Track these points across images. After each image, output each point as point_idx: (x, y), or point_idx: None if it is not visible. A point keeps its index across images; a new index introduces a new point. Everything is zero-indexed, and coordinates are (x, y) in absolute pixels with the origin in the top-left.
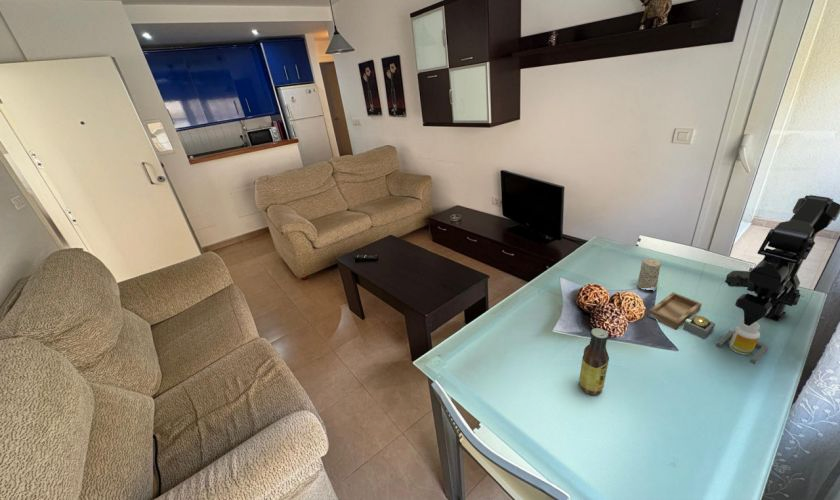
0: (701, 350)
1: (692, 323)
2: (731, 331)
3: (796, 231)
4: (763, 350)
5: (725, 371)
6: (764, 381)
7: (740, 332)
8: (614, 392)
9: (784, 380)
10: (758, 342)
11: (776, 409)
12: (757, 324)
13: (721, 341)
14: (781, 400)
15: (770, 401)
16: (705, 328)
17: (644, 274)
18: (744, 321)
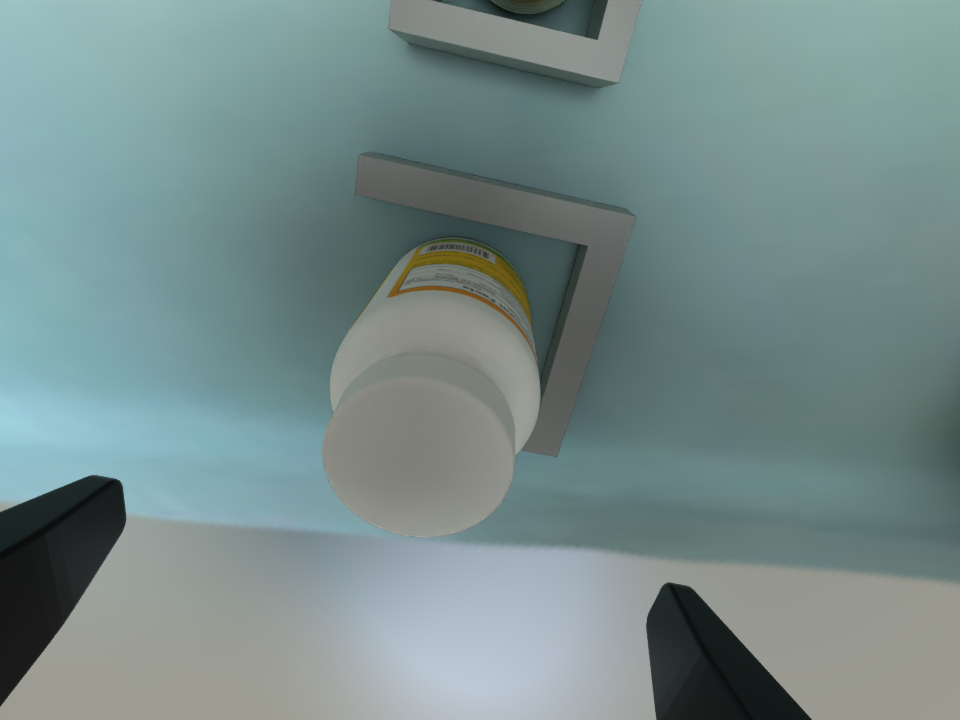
0: (215, 62)
1: None
2: (616, 233)
3: None
4: None
5: (114, 263)
6: (217, 443)
7: (344, 350)
8: None
9: (309, 510)
10: (568, 405)
11: (45, 492)
12: (455, 517)
13: (400, 186)
14: (133, 505)
15: (78, 472)
16: (509, 7)
17: None
18: (14, 508)
